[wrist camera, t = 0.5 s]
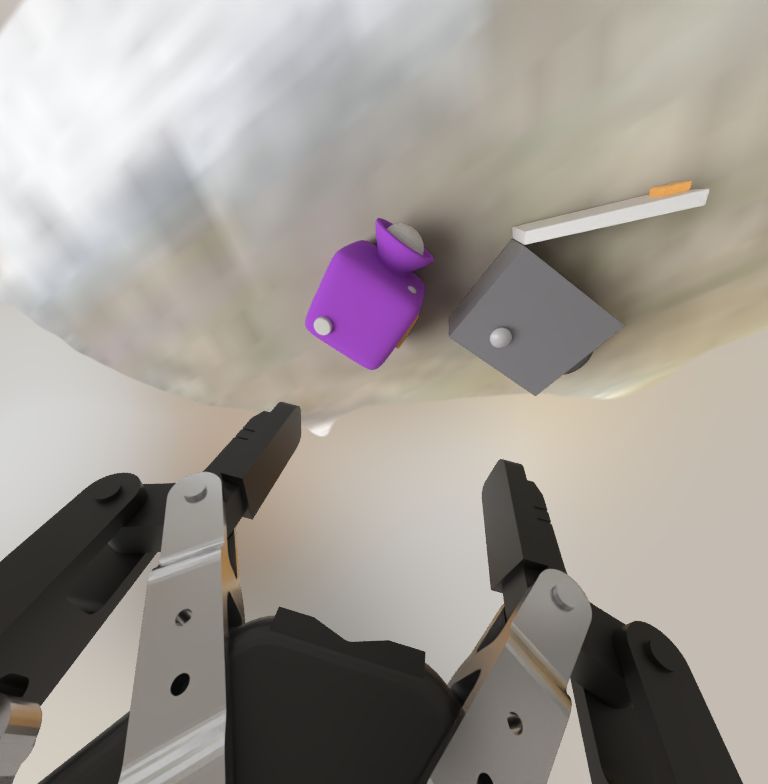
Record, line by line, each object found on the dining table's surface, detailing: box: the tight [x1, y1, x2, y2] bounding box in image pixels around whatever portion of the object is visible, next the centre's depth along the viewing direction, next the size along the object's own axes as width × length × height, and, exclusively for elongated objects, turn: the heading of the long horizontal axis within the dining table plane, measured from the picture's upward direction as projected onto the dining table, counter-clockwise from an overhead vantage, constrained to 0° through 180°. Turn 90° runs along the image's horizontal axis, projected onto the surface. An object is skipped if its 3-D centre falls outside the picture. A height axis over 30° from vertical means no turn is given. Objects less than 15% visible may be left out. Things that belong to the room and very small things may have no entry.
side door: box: [513, 181, 710, 245], centre depth 24 cm, size 2×12×5 cm, turn 104°
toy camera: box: [305, 218, 434, 370], centre depth 29 cm, size 11×14×10 cm
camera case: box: [449, 239, 624, 396], centre depth 30 cm, size 10×13×7 cm
